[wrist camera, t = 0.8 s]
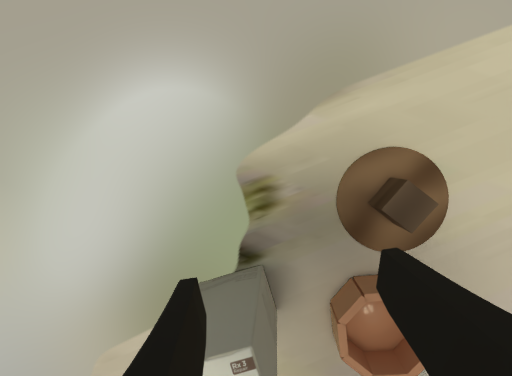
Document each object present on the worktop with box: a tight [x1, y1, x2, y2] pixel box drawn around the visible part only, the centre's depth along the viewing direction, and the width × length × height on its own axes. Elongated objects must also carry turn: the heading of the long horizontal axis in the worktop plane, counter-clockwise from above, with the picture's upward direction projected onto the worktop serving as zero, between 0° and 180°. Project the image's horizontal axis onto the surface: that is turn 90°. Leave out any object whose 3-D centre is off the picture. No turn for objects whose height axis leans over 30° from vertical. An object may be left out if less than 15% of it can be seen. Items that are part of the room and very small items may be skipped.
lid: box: [337, 147, 449, 251], centre depth 26 cm, size 11×11×5 cm
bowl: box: [330, 275, 425, 376], centre depth 28 cm, size 9×9×4 cm
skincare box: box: [199, 265, 277, 376], centre depth 24 cm, size 8×6×15 cm
